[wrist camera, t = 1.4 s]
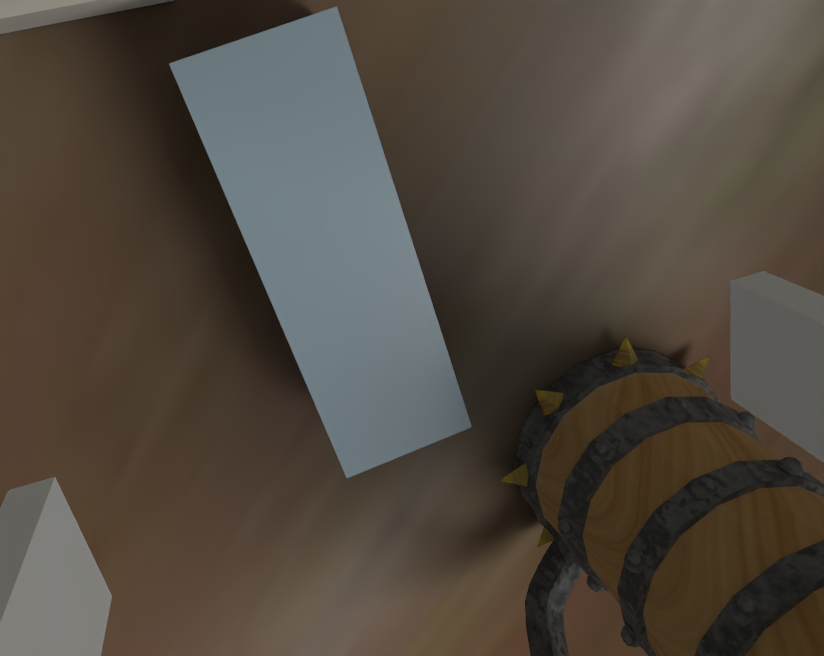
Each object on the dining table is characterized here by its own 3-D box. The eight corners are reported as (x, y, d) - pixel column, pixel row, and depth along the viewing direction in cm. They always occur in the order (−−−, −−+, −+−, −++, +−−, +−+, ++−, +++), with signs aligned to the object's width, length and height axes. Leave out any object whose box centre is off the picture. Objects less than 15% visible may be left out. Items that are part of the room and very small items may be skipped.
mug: (770, 410, 38) (1269, 746, 20) (556, 640, 40) (827, 1126, 22) (617, 272, 32) (1108, 558, 14) (382, 546, 35) (551, 1083, 17)
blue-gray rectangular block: (325, 404, 32) (346, 478, 26) (180, 59, 25) (168, 63, 20) (430, 362, 32) (471, 427, 27) (313, 14, 26) (336, 6, 20)
